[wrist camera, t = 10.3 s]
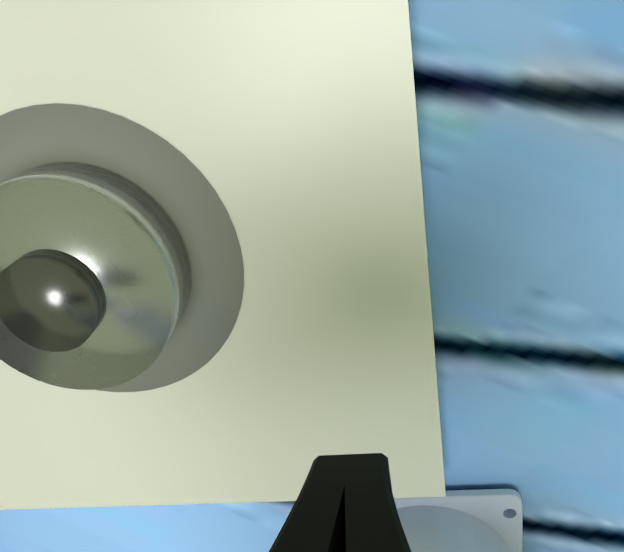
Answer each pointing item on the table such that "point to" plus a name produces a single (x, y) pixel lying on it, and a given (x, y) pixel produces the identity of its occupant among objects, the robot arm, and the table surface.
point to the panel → (235, 246)
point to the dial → (86, 276)
